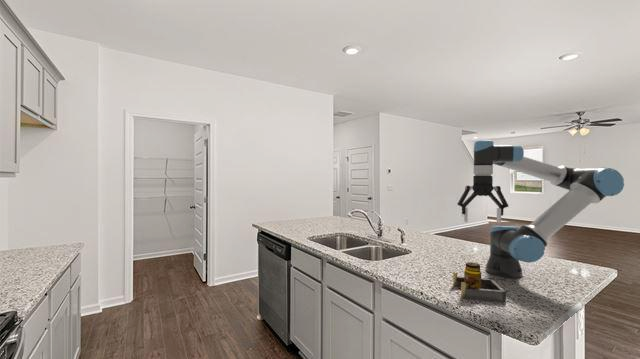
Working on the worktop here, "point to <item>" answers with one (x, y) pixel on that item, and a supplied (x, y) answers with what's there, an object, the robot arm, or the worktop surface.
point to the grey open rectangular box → (480, 290)
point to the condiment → (472, 275)
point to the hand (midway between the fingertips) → (482, 222)
